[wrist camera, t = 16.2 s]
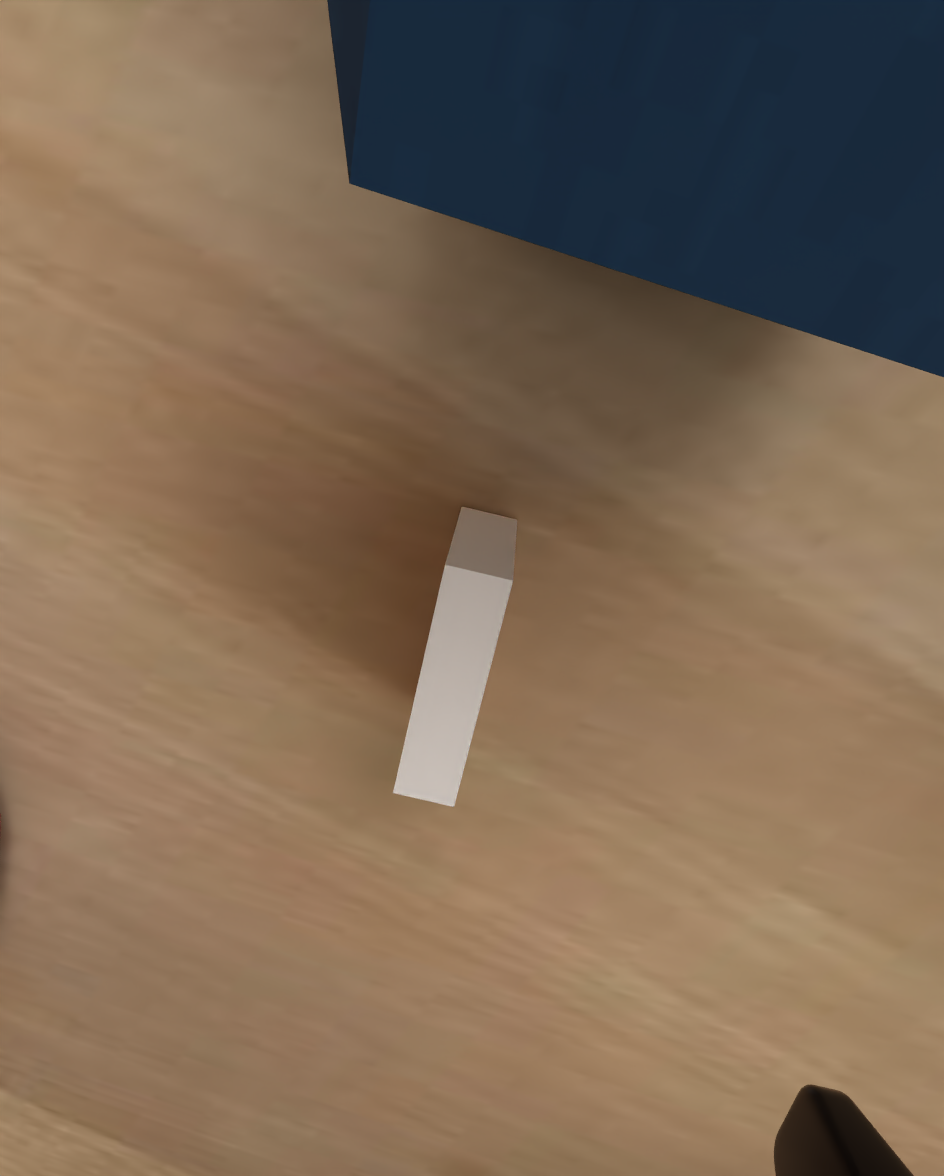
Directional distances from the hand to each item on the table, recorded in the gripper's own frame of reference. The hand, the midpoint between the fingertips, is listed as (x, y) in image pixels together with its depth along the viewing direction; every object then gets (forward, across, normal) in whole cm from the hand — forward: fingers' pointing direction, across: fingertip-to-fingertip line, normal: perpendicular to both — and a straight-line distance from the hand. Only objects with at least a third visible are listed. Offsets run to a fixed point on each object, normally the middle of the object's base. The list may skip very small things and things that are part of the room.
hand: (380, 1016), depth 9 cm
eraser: (+11, 0, 0) cm, 11 cm away
